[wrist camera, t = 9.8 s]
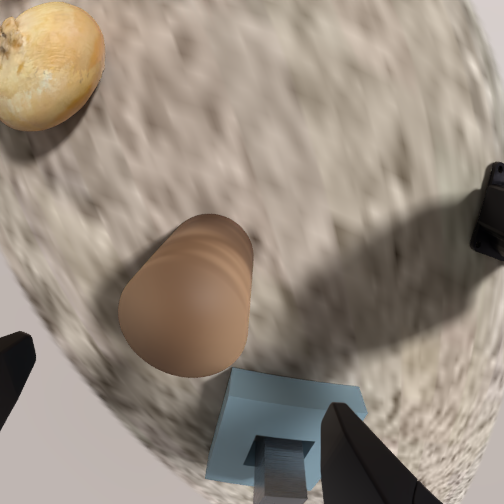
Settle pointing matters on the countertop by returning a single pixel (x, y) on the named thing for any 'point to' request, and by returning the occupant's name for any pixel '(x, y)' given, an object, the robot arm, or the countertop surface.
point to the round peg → (191, 299)
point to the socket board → (272, 421)
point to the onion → (48, 65)
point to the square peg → (279, 471)
